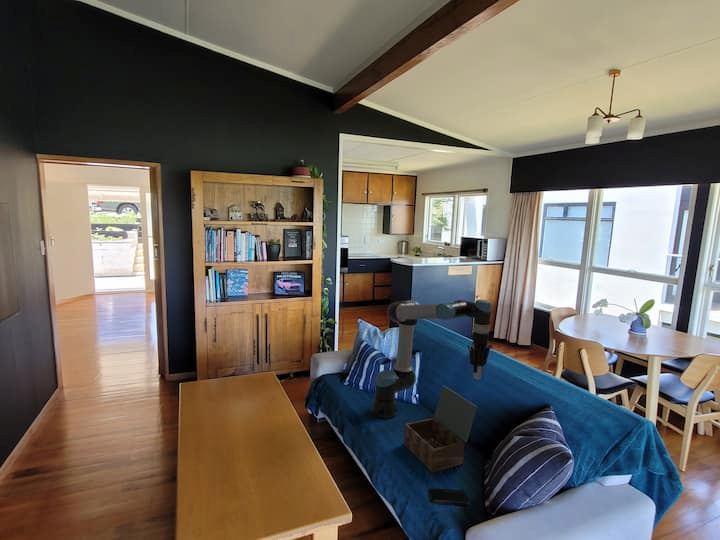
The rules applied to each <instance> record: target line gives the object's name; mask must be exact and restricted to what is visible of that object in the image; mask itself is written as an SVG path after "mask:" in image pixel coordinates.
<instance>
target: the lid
mask: <svg viewBox="0 0 720 540" xmlns="http://www.w3.org/2000/svg"><path fill="white" fill-rule="evenodd" d="M477 408H478V406H477V405H475V404H474V403H472V402H470V401H469V400H467V399H466V398H465V397H463V396H461V395H460V394H459V393H456V392H455V391H454V390H452V389H450V388H449V387H447V386H445V385H443V386H442V388H441V391H440V395H439V398H438V402H437V406H436V409H435V412H434V416H433V418H434V419H435V420H436V421H438V422H439V423H440V424H441V425H443V426H444V427H445V428H446V429H448V430H449V431H450V432H451V433H453V434H454V435H455V436H457V437H458V438H459V439H460V440H462V441H463V442H464V443H467V442H468V440H469V439H468V438H469V436H470V432H471V429H472V425H473V422H474V419H475V416H476V412H477Z"/></svg>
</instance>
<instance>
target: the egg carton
mask: <svg viewBox="0 0 720 540" xmlns="http://www.w3.org/2000/svg"><path fill="white" fill-rule="evenodd" d="M427 443H429V444H430V445H431V446H432V447H433V448H434V449H436V448H440V447H443V446H444V445H441V443H439V442H437V441H435V440H434V439H430V440H429V441H428V442H427Z"/></svg>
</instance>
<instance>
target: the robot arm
mask: <svg viewBox="0 0 720 540" xmlns="http://www.w3.org/2000/svg"><path fill="white" fill-rule="evenodd" d="M491 314H492V302H491V301H489V300H487V299H476V300H475V302H474V301H473V302H472V301H468V300H464V299H456V300H455V301H453V302H449V303H448V302H446V303H430V304H426V303H425V304H420V303H419V301H417V300H415V299H406V300H400V301H393V302H392V303H390V304H389V305H388V306H387V310H386V315H387V317H388V319H389V320H390V321H391V322H394V323H397V324H398V337H397V338H398V340H397V350H396V363H395V364H394V365H393V368H392V369H393V370H391V369H387V370H385V369H384V370H381V371H379V372H378V373H376V375H375V381H374V382H375V389H374V390H375V391H374V400H373V402H372V405H371V408H370V412H371V414H372V415H373V417H376V418H379V419H383V420H384V419H393V418H395V417H396V416H398V406H397V404H396V394H397V393H399V392H402V391H406V390H409V389H411V388H412V387H414V385H415V384H416V383H417V375H416V372H415V370H414V367H413V366H412V356H413V355H412V353H413V343H414V342H413V341H414V332H415V327H416V326H418V320H441V321H449V320H452V319H456V318H457V319H458V318H463V317H466V318H467V317H468V318H472V319H473V325H472V326H473V327H472V330H473V331H472V337H471V338H472V343H471V345H468V346H467V348H468V352H469V364H470V365H471V366H473V369H472V371H473V377H472V378H473V379H475V380H481V378H482V377H481V376H482V372H483V367H485V365H487V361H488V357H489V354H490V349H491V348H492V345H491V344H489V340H490V339H489V338H490V333H489V332H490V325H491Z"/></svg>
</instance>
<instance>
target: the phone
mask: <svg viewBox="0 0 720 540" xmlns="http://www.w3.org/2000/svg"><path fill="white" fill-rule="evenodd" d="M428 494H429V498H430V502H431V503H432V504H441V505H442V504H443V505H455V506H456V505H457V506H465V507H466V506H469V505H470V501H469V498H468V494H467V492H466V491H465V490H462V489H451V488H450V489H449V488H435V487H430V488H428Z"/></svg>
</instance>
